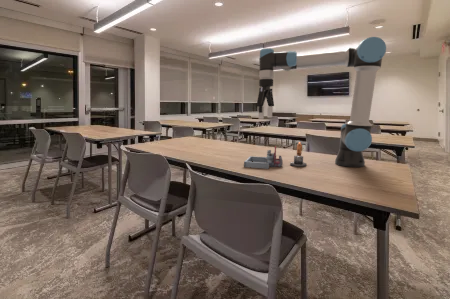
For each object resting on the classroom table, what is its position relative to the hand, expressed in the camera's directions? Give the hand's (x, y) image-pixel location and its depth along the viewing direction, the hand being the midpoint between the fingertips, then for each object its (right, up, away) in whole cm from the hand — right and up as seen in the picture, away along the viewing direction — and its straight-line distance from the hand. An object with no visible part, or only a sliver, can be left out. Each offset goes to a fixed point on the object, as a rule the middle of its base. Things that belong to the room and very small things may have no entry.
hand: (265, 118), depth 142 cm
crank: (+20, -25, +6) cm, 32 cm away
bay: (-3, -26, +4) cm, 27 cm away
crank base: (+19, -26, +2) cm, 33 cm away
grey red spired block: (+5, -27, +2) cm, 27 cm away
